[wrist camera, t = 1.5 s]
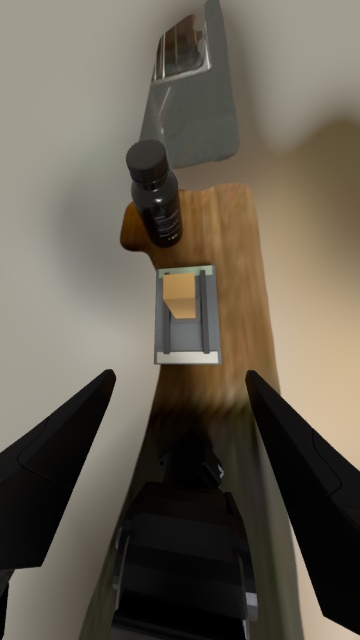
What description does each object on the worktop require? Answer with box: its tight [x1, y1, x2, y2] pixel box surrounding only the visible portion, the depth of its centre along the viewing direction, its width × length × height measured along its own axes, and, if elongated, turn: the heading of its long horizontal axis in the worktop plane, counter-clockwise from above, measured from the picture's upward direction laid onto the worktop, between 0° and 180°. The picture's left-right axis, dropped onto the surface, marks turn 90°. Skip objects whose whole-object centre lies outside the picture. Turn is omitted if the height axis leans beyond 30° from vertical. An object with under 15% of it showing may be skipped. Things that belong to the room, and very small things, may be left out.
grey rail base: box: [154, 265, 222, 364], centre depth 23 cm, size 16×10×3 cm, turn 1°
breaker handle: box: [163, 273, 200, 323], centre depth 18 cm, size 4×4×9 cm
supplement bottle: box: [126, 139, 183, 248], centre depth 22 cm, size 7×7×12 cm
